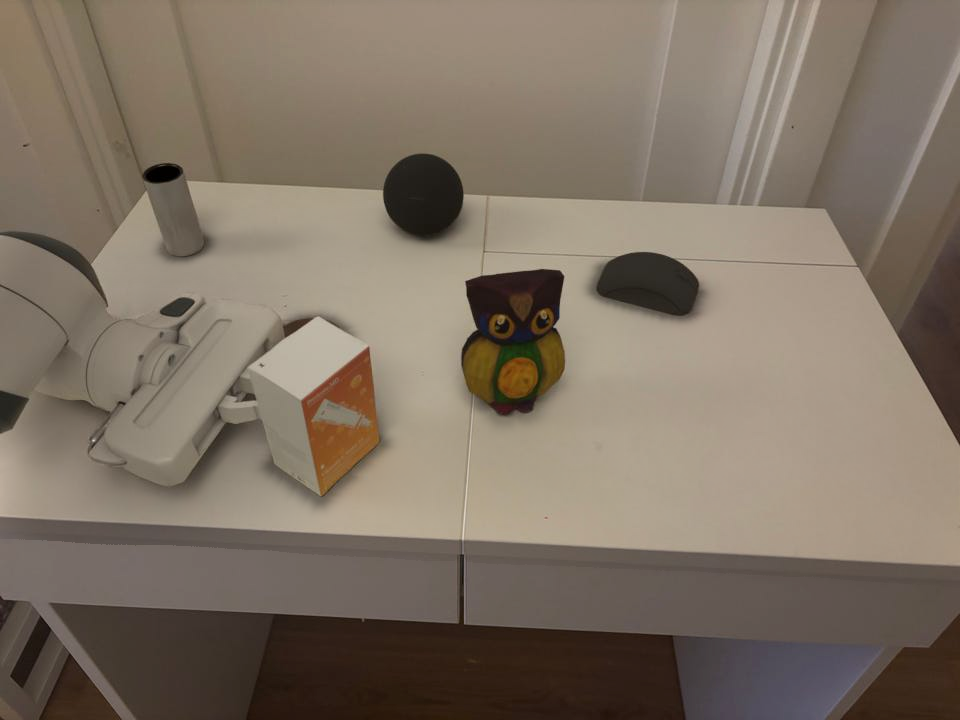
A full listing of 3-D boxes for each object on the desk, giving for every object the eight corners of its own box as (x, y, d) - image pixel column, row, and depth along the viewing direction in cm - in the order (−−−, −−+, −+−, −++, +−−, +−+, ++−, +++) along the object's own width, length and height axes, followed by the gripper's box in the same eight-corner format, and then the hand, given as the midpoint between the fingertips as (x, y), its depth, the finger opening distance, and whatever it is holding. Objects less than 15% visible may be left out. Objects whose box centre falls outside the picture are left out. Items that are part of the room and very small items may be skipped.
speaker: (407, 260, 91) (402, 189, 84) (373, 219, 97) (366, 150, 90) (477, 237, 95) (478, 167, 88) (440, 199, 101) (439, 131, 94)
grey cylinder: (176, 233, 95) (152, 160, 87) (210, 237, 94) (189, 164, 87) (160, 255, 91) (134, 181, 84) (195, 258, 91) (172, 184, 84)
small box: (321, 499, 67) (299, 401, 57) (272, 465, 69) (244, 366, 60) (382, 442, 71) (371, 344, 62) (334, 412, 74) (316, 313, 65)
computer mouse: (689, 319, 85) (697, 291, 82) (593, 294, 87) (597, 267, 85) (699, 286, 89) (707, 259, 86) (607, 263, 92) (611, 237, 89)
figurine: (468, 429, 73) (469, 313, 62) (456, 378, 77) (455, 262, 67) (565, 415, 74) (582, 300, 63) (547, 366, 79) (560, 251, 68)
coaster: (301, 382, 77) (301, 380, 76) (254, 345, 80) (254, 343, 80) (360, 343, 81) (360, 341, 81) (313, 310, 85) (312, 308, 84)
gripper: (60, 431, 60) (212, 473, 58) (197, 280, 74) (325, 308, 72) (87, 478, 65) (230, 518, 62) (212, 327, 79) (333, 355, 76)
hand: (282, 404), depth 67 cm, fingers closed
